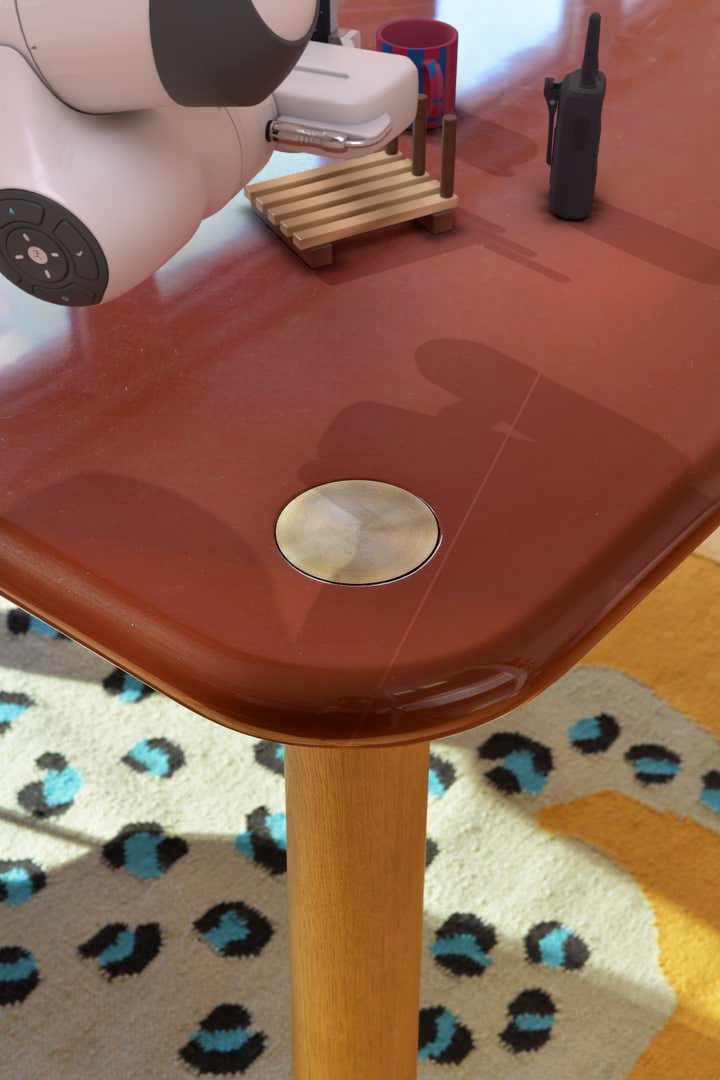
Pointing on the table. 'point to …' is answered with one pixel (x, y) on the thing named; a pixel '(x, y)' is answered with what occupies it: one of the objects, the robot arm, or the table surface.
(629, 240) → the table surface
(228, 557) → the table surface
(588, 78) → the two-way radio
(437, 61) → the mug
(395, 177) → the drying rack
